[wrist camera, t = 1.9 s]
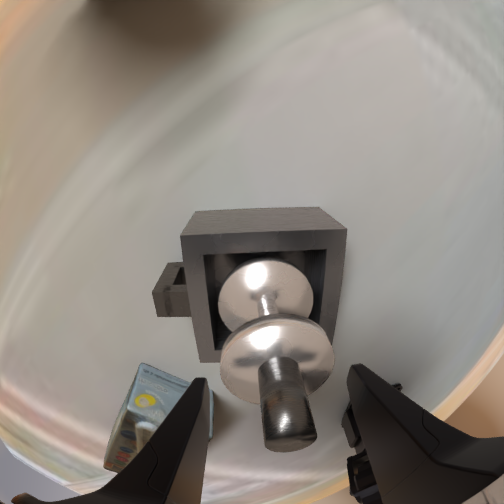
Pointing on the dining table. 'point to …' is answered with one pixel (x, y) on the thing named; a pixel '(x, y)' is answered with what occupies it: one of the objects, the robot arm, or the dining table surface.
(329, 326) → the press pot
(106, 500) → the robot arm
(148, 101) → the dining table surface
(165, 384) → the beverage carton
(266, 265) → the plunger
